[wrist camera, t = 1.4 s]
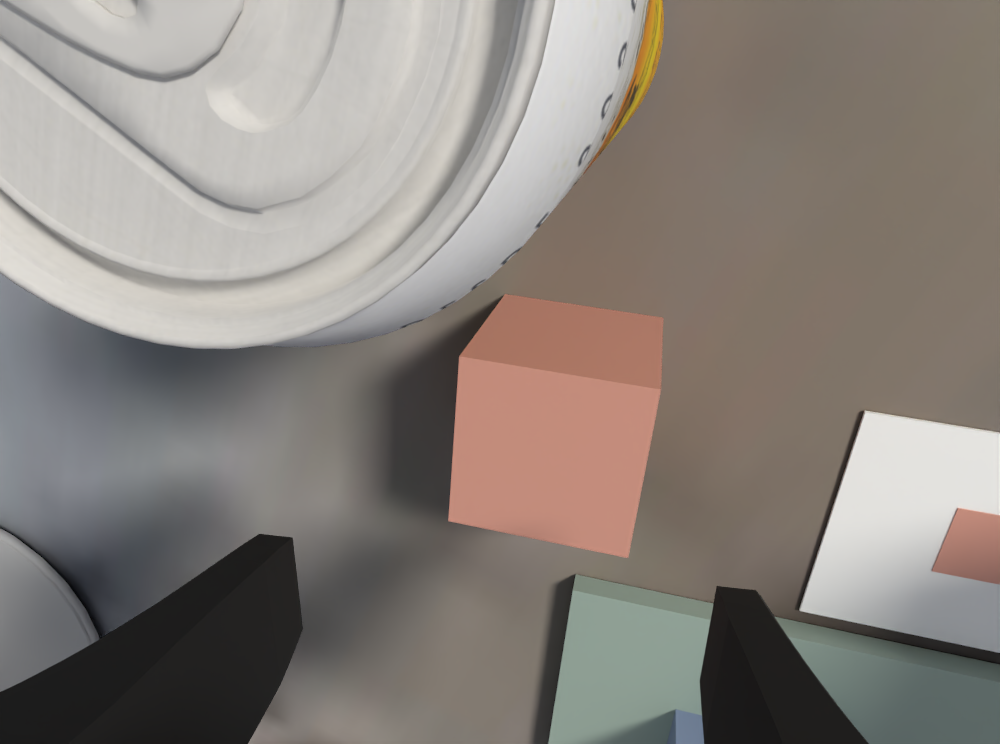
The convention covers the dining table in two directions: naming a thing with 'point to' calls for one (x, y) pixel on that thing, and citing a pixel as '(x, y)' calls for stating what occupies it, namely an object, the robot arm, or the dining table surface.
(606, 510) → the top brick
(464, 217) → the beer can
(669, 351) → the dining table surface
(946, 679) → the plate
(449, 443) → the dining table surface
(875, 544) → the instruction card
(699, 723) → the base brick
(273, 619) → the robot arm
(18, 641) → the chalice
